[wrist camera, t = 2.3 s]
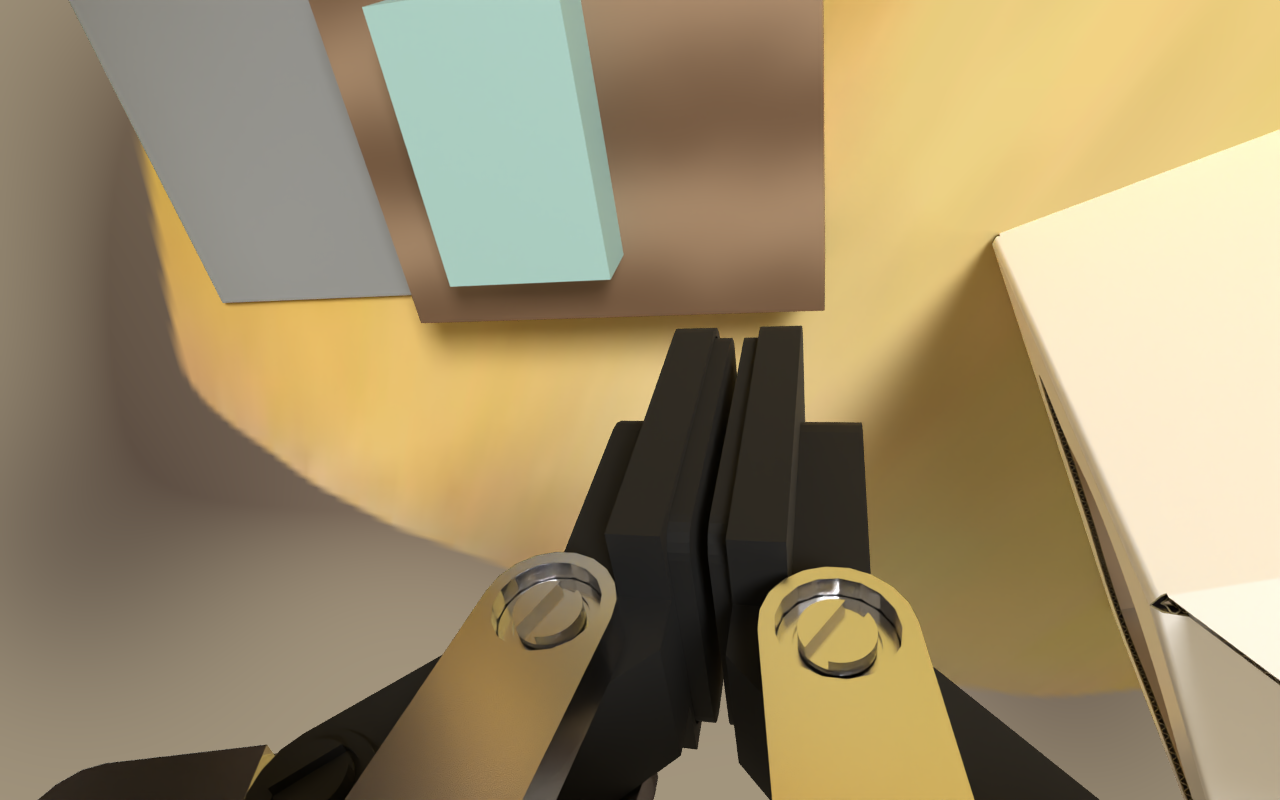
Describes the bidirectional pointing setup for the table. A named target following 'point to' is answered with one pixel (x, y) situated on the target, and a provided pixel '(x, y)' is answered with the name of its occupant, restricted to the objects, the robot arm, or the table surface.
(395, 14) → the block
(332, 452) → the table surface
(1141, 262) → the gable box
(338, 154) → the mat
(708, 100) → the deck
